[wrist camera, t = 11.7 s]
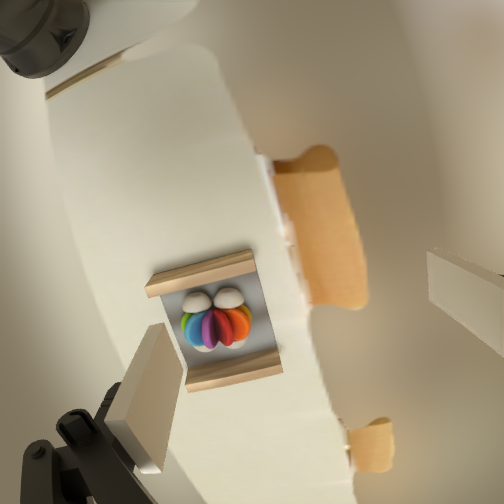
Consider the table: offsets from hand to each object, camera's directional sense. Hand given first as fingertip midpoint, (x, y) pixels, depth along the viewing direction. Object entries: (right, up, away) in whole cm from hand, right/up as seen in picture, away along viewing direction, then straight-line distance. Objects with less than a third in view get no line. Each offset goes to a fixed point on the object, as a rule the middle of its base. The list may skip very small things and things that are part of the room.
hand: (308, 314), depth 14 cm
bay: (-7, -7, +31) cm, 32 cm away
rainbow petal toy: (-8, -6, +31) cm, 32 cm away
